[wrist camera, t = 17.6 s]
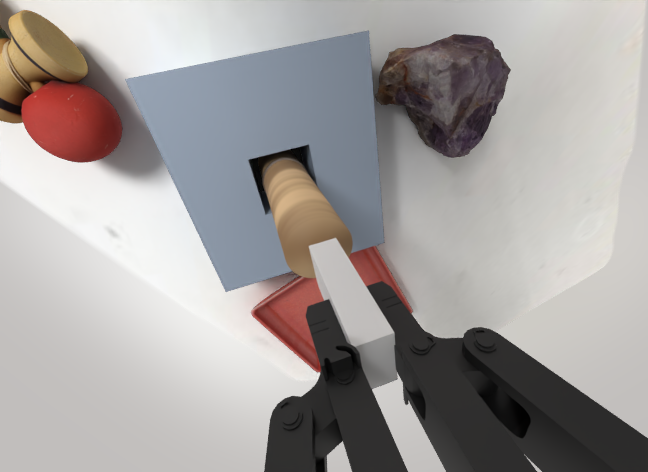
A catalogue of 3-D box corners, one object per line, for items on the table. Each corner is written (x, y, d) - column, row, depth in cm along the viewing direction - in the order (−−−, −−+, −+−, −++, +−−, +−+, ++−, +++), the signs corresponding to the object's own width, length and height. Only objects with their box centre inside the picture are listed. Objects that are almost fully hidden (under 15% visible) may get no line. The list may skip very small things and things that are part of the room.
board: (145, 76, 25) (125, 79, 20) (343, 36, 28) (368, 30, 23) (226, 260, 36) (225, 291, 31) (364, 219, 38) (384, 242, 33)
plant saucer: (359, 222, 39) (369, 234, 36) (404, 299, 49) (415, 313, 46) (246, 296, 40) (247, 313, 37) (313, 357, 50) (318, 374, 47)
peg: (252, 148, 30) (274, 228, 15) (291, 138, 31) (349, 207, 16) (263, 185, 33) (292, 288, 18) (300, 176, 33) (357, 267, 18)
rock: (408, 151, 37) (473, 88, 35) (454, 182, 31) (537, 107, 28) (357, 76, 29) (436, -10, 27) (404, 96, 23) (512, -14, 21)
